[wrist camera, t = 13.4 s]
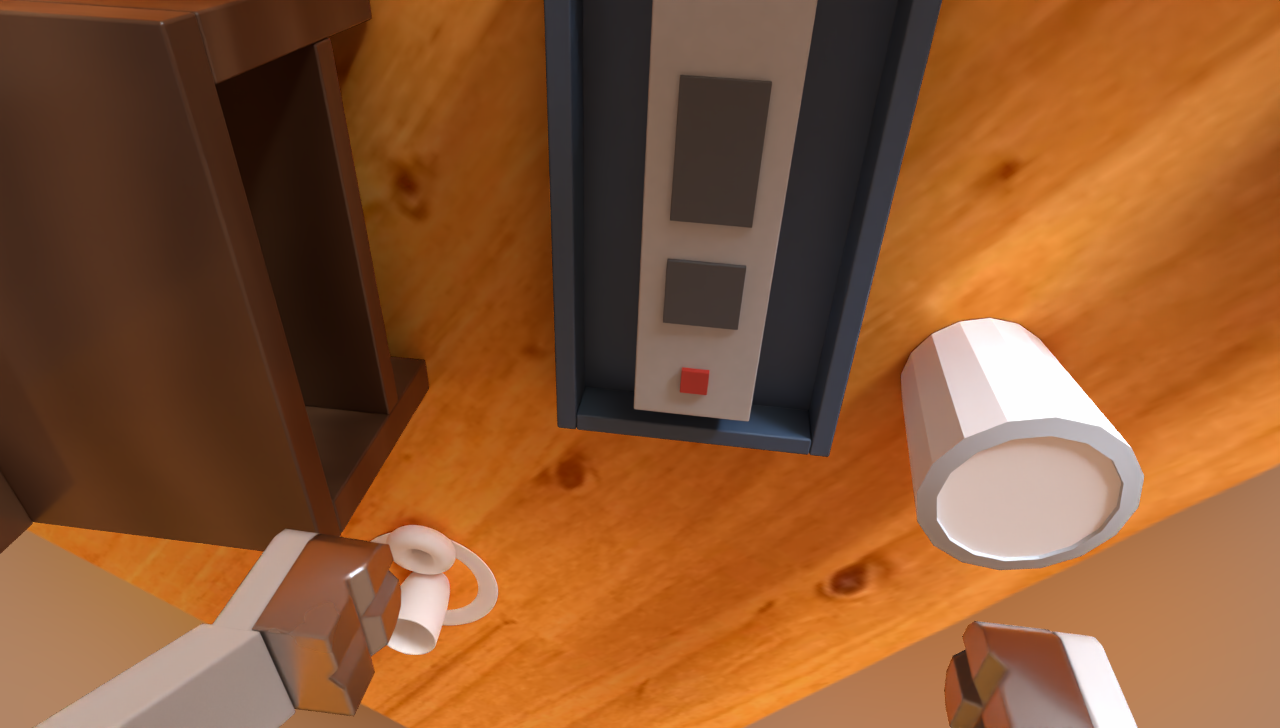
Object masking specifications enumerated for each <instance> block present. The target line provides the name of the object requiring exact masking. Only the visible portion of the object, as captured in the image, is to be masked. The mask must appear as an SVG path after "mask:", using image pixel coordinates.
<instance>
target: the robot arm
mask: <svg viewBox="0 0 1280 728" xmlns="http://www.w3.org/2000/svg"><path fill="white" fill-rule="evenodd" d="M393 560H394V559H393V556H392V552H391V549H390V546H389V544H382V543H376V542H369V541H363V540H357V539H350V538H344V537H337V536H331V535H325V534H319V533H312V532H305V531H298V530H290V529H285V530H283V531H282V532H280V533H279V534H278V535H276V536H275V537H274V538H273V539H272V541H271V542H270V543H269V545H268V546H267V548H266V549H265V551H264V552H263V553H262V555H261V556H260V558H259V559H258V560H257V562H256V563H255V565H254V566H253V568H252V569H251V570H250V572H249V573H248V575H247V576H246V577H245V579H244V580H243V582H242V583H241V585H240V586H239V587H238V589H237V590H236V592H235V593H234V594H233V596H232V597H231V599H230V600H229V602H228V603H227V604H226V606H225V607H224V609H223V610H222V611H221V613H220V614H219V616H218V617H217V618H216V620H215V621H214V623H213V624H212V625H211V624H201V625H199V626H197V627H196V628H194V629H192V630H191V631H189V632H187V633H186V634H184V635H183V636H181V637H179V638H178V639H176V640H174V641H173V642H171V643H170V644H168V645H166V646H165V647H163V648H162V649H160V650H158V651H156V652H155V653H153V654H152V655H150V656H149V657H147V658H145V659H144V660H142V661H141V662H139V663H137V664H135V665H134V666H132V667H131V668H129V669H127V670H126V671H124V672H122V673H121V674H119V675H118V676H116V677H114V678H113V679H111V680H109V681H108V682H106V683H104V684H103V685H101V686H99V687H98V688H96V689H95V690H93V691H91V692H90V693H88V694H86V695H85V696H83V697H82V698H80V699H78V700H77V701H75V702H74V703H72V704H70V705H69V706H67V707H65V708H64V709H62V710H60V711H59V712H57V713H56V714H54V715H52V716H51V717H49V718H47V719H46V720H44V721H42V722H41V723H39V724H38V725H36V726H34V727H33V728H279V727H280V726H281V725H282V724H283V723H285V722H286V721H287V720H288V719H289V718H290V717H291V716H292V715H294V714H295V709H300V710H308V711H316V712H325V713H332V714H340V715H347V716H354V715H355V713H356V711H357V709H358V707H359V704H360V703H361V700H362V698H363V696H364V694H365V692H366V690H367V688H368V686H369V683H370V681H371V679H372V677H373V675H374V673H375V671H374V667H373V663H372V659H371V656H372V655H374V654H375V653H376V652H378V651H379V650H380V649H382V648H383V647H384V646H386V645H387V644H388V643H389V640H390V638H391V636H392V634H393V631H394V629H395V627H396V624H397V620H398V616H399V611H400V607H401V588H400V583H399V580H398V579H397V578H396V577H395V576H394V575H393V574H392V573H391V572H390V571H389V568H390V566H391V564H392V562H393ZM962 637H963V641H964V645H965V649H966V650H964V651H962V652H960V653H958V654H956V655H954V656H953V657H952V659H951V661H950V664H949V666H948V669H947V671H946V680H945V689H944V692H945V705H946V711H947V716H948V721H949V726H950V727H951V728H1138V727H1137V725H1136V723H1135V721H1134V718H1133V716H1132V714H1131V711H1130V709H1129V707H1128V704H1127V702H1126V700H1125V697H1124V695H1123V693H1122V690H1121V688H1120V686H1119V684H1118V681H1117V679H1116V677H1115V674H1114V672H1113V670H1112V667H1111V665H1110V663H1109V661H1108V658H1107V656H1106V654H1105V651H1104V649H1103V647H1102V645H1101V644H1100V643H1099V642H1098V641H1097V640H1096V638H1095V637H1091V636H1086V635H1078V634H1069V633H1061V632H1051V631H1049V630H1046V629H1038V628H1029V627H1021V626H1012V625H1004V624H995V623H986V622H978V621H974V622H973V623H971V624H969V625H968V627H967V628H966V631H965V632H964V634H963V636H962Z"/></svg>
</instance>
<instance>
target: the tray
mask: <svg viewBox="0 0 1280 728" xmlns="http://www.w3.org/2000/svg"><path fill="white" fill-rule="evenodd" d="M652 3H653V0H544V21H545V52H546V83H547V114H548V145H549V176H550V207H551V239H552V270H553V301H554V332H555V363H556V394H557V425H558V427H559V428H569V429H576V427H577V429H578V430H587V431H597V432H606V433H615V434H624V435H633V436H642V437H651V438H660V439H670V440H679V441H688V442H697V443H706V444H715V445H724V446H733V447H743V448H752V449H761V450H770V451H779V452H788V453H797V454H806V455H807V454H810V455H815V456H825V457H828V456H829V454H830V450H831V446H832V442H833V438H834V434H835V430H836V426H837V421H838V417H839V413H840V409H841V405H842V401H843V397H844V393H845V389H846V385H847V381H848V377H849V373H850V369H851V365H852V361H853V357H854V353H855V349H856V345H857V341H858V337H859V333H860V329H861V325H862V321H863V317H864V313H865V309H866V305H867V301H868V297H869V293H870V289H871V285H872V281H873V277H874V273H875V269H876V265H877V261H878V257H879V253H880V249H881V244H882V240H883V236H884V232H885V228H886V224H887V220H888V216H889V212H890V208H891V204H892V200H893V196H894V192H895V188H896V184H897V180H898V176H899V172H900V168H901V164H902V160H903V156H904V152H905V148H906V144H907V140H908V136H909V132H910V128H911V124H912V120H913V116H914V112H915V108H916V104H917V100H918V96H919V92H920V88H921V84H922V80H923V76H924V72H925V68H926V63H927V59H928V55H929V51H930V47H931V43H932V39H933V35H934V31H935V27H936V23H937V19H938V15H939V11H940V7H941V3H942V0H818V1H817V7H816V13H815V19H814V26H813V32H812V38H811V44H810V50H809V56H808V62H807V69H806V75H805V81H804V87H803V93H802V99H801V105H800V111H799V118H798V124H797V130H796V136H795V142H794V148H793V154H792V161H791V167H790V173H789V179H788V185H787V191H786V197H785V203H784V210H783V216H782V222H781V228H780V234H779V240H778V246H777V253H776V259H775V265H774V271H773V277H772V283H771V289H770V295H769V302H768V308H767V314H766V320H765V326H764V332H763V338H762V345H761V351H760V357H759V363H758V369H757V375H756V381H755V387H754V394H753V400H752V406H751V412H750V418H749V421H739V420H730V419H720V418H711V417H702V416H693V415H684V414H674V413H665V412H656V411H647V410H638V409H634V388H635V367H636V345H637V324H638V302H639V281H640V260H641V238H642V217H643V195H644V174H645V153H646V131H647V110H648V88H649V67H650V45H651V24H652Z"/></svg>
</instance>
